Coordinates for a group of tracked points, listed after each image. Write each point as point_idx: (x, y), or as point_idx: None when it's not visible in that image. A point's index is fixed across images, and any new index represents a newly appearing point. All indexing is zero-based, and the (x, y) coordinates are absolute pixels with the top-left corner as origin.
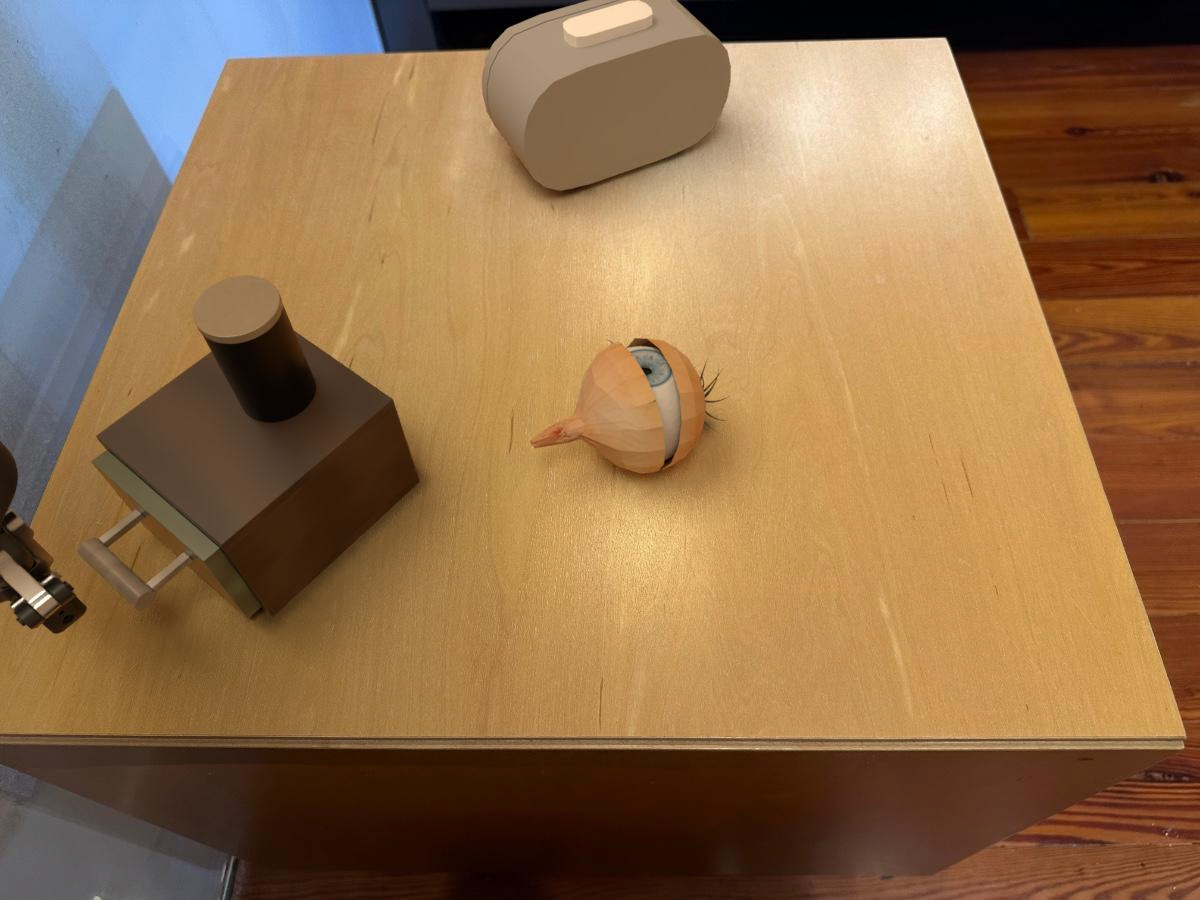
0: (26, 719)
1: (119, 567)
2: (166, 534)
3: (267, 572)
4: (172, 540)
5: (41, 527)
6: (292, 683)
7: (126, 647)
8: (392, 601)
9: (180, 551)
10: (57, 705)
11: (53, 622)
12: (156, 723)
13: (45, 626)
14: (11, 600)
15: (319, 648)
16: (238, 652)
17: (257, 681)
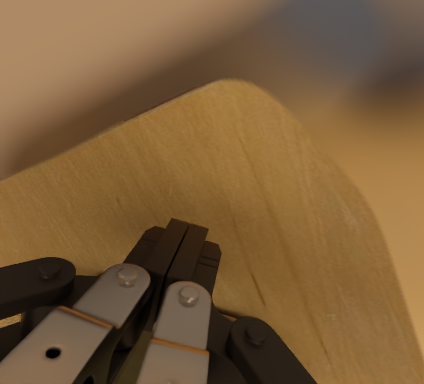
0: (240, 89)
1: (153, 328)
2: (132, 379)
3: None
4: (124, 372)
5: (400, 292)
6: (19, 232)
7: (193, 206)
8: (5, 322)
9: (142, 345)
10: (217, 120)
11: (137, 244)
12: (101, 148)
13: (165, 229)
14: (73, 308)
15: None
16: (85, 240)
17: (47, 222)
